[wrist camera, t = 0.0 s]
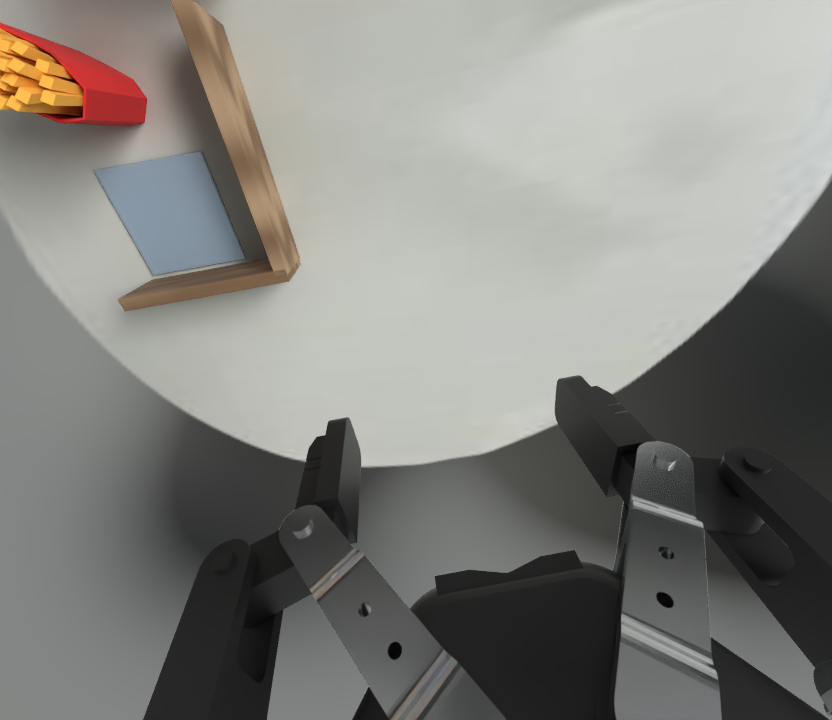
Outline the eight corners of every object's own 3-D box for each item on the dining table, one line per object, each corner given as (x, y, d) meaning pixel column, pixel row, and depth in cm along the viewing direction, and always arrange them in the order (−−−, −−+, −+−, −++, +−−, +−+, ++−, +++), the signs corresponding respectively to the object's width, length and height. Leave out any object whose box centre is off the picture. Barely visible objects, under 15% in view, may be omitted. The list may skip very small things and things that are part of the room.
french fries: (159, 91, 30) (46, 59, 19) (154, 140, 31) (46, 134, 21) (39, 29, 27) (-165, -46, 17) (40, 86, 29) (-145, 49, 19)
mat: (95, 170, 32) (93, 170, 32) (201, 151, 32) (200, 151, 32) (154, 274, 37) (153, 275, 37) (245, 257, 37) (244, 258, 37)
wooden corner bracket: (26, 60, 28) (-52, 39, 23) (222, 25, 28) (188, -4, 23) (158, 290, 38) (125, 311, 33) (301, 264, 38) (290, 281, 33)
